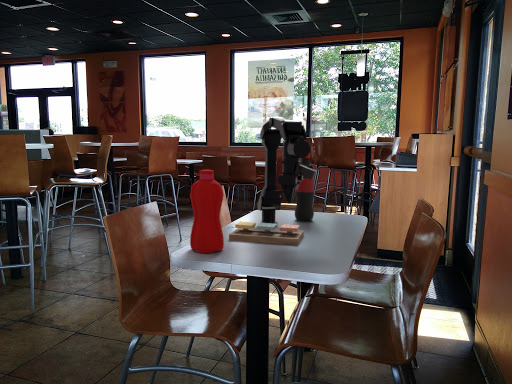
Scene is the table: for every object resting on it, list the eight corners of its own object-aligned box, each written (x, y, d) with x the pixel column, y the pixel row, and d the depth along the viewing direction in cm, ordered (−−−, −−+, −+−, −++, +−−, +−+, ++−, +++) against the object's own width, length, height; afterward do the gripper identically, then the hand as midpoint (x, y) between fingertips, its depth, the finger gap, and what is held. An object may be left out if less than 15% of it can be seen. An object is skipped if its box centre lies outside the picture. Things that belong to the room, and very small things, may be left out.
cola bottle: (305, 218, 179) (307, 152, 175) (317, 221, 171) (319, 152, 168) (290, 219, 174) (292, 152, 171) (302, 222, 167) (304, 152, 164)
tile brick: (282, 232, 140) (282, 223, 139) (299, 233, 138) (299, 224, 138) (279, 235, 134) (279, 227, 134) (296, 237, 132) (297, 228, 132)
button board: (240, 231, 148) (240, 226, 148) (303, 235, 142) (303, 230, 142) (228, 239, 134) (228, 234, 134) (297, 245, 128) (298, 239, 128)
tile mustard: (240, 229, 144) (240, 221, 143) (255, 230, 142) (255, 222, 142) (235, 232, 138) (235, 224, 138) (251, 234, 136) (251, 225, 136)
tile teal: (261, 230, 142) (261, 222, 141) (277, 232, 140) (277, 223, 140) (257, 234, 136) (257, 225, 136) (273, 235, 134) (274, 226, 134)
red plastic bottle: (208, 243, 129) (208, 168, 126) (227, 250, 120) (228, 170, 118) (183, 248, 123) (182, 169, 120) (202, 255, 115) (201, 170, 112)
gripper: (311, 158, 122) (310, 207, 124) (317, 157, 140) (316, 200, 142) (276, 157, 125) (276, 206, 127) (287, 156, 143) (286, 199, 144)
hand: (290, 202), depth 135 cm, fingers open, 3 cm apart
